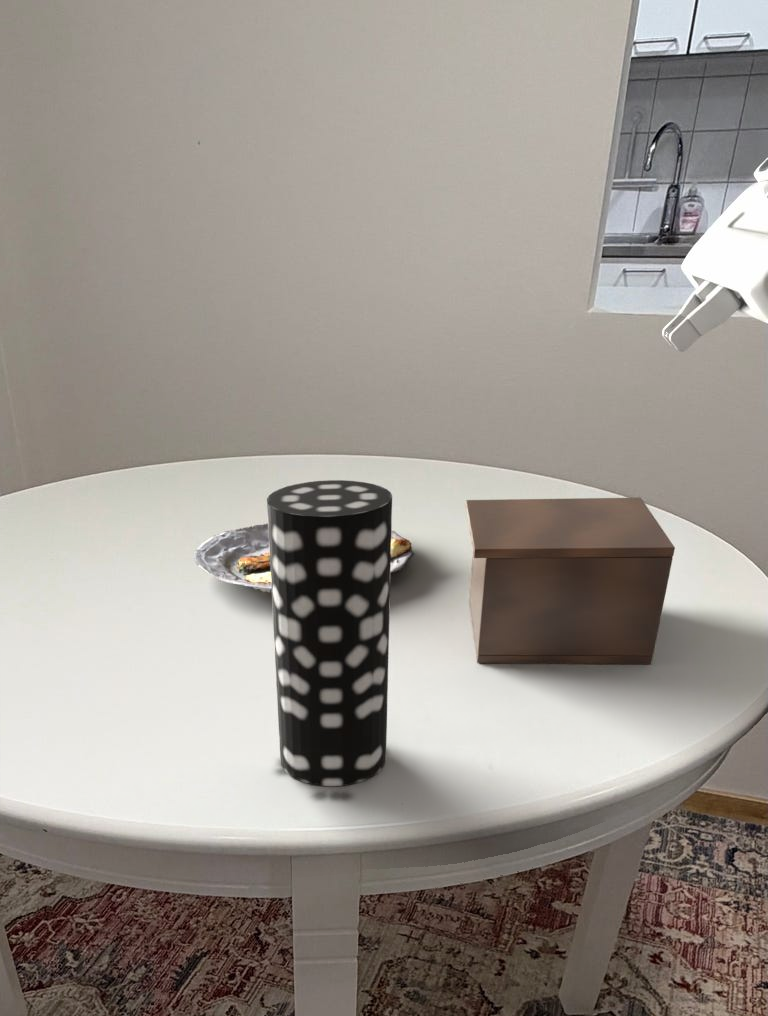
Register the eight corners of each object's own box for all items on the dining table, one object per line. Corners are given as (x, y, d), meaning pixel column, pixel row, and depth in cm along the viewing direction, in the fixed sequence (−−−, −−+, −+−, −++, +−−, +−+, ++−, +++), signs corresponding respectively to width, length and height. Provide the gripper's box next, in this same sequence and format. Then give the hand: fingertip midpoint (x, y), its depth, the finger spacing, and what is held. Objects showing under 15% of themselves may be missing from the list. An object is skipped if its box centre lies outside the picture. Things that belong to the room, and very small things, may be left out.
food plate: (349, 524, 123) (349, 496, 121) (452, 578, 106) (454, 546, 104) (167, 560, 114) (164, 530, 112) (248, 624, 97) (245, 591, 95)
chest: (476, 663, 88) (485, 558, 82) (468, 603, 100) (476, 508, 94) (651, 664, 86) (673, 557, 80) (622, 603, 98) (639, 506, 92)
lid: (474, 558, 82) (474, 549, 82) (465, 508, 94) (466, 499, 93) (673, 556, 80) (675, 547, 80) (639, 505, 92) (640, 497, 92)
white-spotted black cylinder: (277, 787, 72) (262, 518, 60) (283, 733, 78) (270, 482, 67) (388, 786, 71) (394, 514, 59) (384, 732, 78) (389, 478, 66)
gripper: (917, 231, 63) (730, 398, 69) (806, 216, 79) (664, 352, 86) (867, 151, 61) (679, 331, 67) (763, 153, 77) (621, 298, 84)
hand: (670, 343), depth 77 cm, fingers closed
